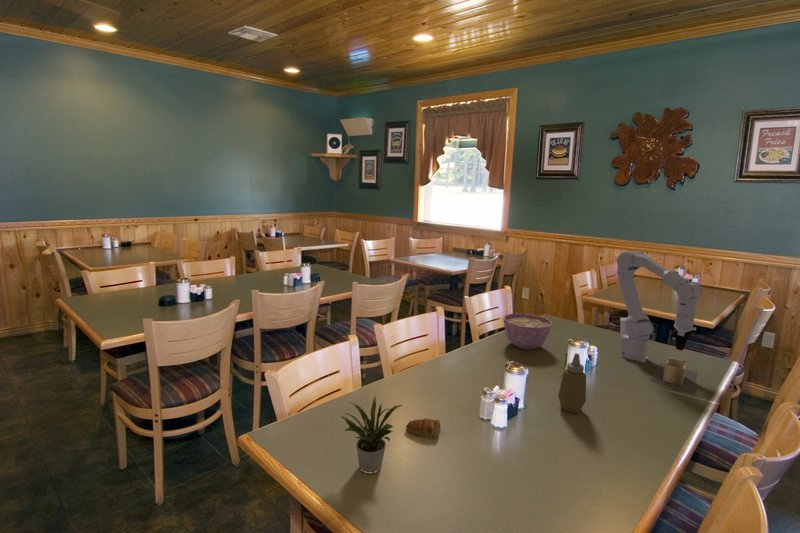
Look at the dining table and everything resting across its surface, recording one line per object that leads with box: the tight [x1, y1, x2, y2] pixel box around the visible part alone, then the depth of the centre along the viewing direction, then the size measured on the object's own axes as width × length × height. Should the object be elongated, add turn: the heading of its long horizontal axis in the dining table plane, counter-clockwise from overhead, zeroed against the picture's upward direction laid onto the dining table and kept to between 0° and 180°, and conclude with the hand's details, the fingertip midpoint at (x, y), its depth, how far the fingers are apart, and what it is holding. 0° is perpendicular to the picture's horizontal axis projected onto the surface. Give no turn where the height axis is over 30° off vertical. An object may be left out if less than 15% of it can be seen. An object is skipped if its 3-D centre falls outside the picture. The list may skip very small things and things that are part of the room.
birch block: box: [663, 356, 688, 385], centre depth 166 cm, size 6×6×10 cm
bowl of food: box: [503, 313, 553, 350], centre depth 194 cm, size 20×20×12 cm
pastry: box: [406, 417, 442, 440], centre depth 125 cm, size 9×7×4 cm
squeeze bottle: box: [558, 353, 587, 414], centre depth 140 cm, size 8×8×18 cm
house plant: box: [340, 395, 403, 472], centre depth 108 cm, size 14×14×16 cm
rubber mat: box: [649, 362, 698, 392], centre depth 168 cm, size 13×21×1 cm, turn 144°
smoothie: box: [619, 317, 628, 341], centre depth 207 cm, size 6×6×14 cm
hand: (679, 349), depth 170 cm, fingers closed
